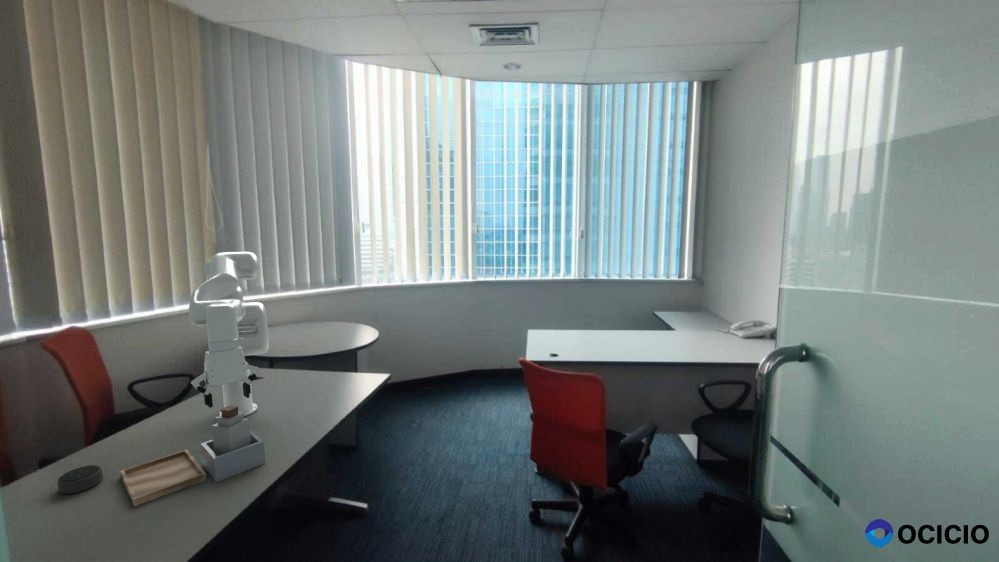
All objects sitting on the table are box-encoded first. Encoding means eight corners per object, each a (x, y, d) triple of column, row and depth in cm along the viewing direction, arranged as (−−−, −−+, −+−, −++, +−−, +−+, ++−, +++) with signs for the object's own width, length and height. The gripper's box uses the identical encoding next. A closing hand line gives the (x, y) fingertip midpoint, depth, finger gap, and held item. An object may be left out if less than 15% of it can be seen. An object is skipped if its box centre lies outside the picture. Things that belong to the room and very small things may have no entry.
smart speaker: (62, 484, 121) (60, 471, 121) (104, 473, 126) (103, 460, 126) (55, 500, 114) (53, 486, 114) (101, 487, 119) (99, 474, 119)
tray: (120, 477, 124) (120, 470, 124) (187, 455, 136) (186, 449, 136) (134, 506, 111) (133, 499, 111) (206, 479, 123) (205, 473, 123)
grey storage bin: (202, 465, 130) (200, 443, 129) (249, 448, 140) (248, 428, 139) (216, 482, 122) (214, 458, 121) (265, 463, 132) (263, 441, 131)
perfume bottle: (252, 460, 133) (247, 405, 131) (232, 472, 127) (227, 414, 124) (236, 456, 135) (231, 402, 133) (215, 468, 129) (210, 410, 127)
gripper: (251, 337, 135) (255, 390, 137) (184, 349, 122) (190, 407, 124) (260, 341, 130) (264, 396, 132) (192, 353, 117) (197, 414, 119)
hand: (228, 401), depth 128 cm, fingers open, 9 cm apart
